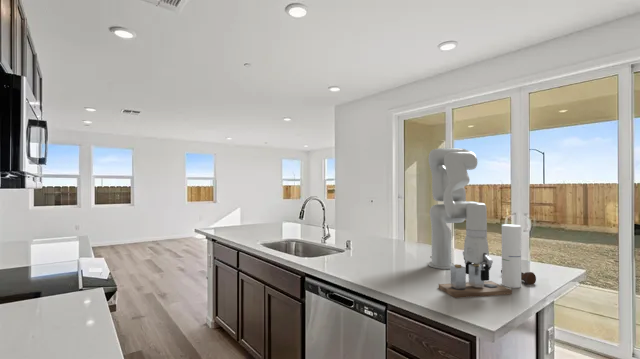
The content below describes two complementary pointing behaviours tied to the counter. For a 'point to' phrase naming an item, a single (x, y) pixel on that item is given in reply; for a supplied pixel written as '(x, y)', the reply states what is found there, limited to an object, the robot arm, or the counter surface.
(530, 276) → the brown knobbed rod
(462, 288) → the wooden tray with canisters
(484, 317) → the counter surface
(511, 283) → the cylindrical container
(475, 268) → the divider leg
